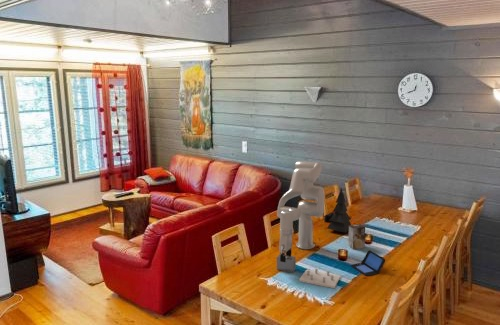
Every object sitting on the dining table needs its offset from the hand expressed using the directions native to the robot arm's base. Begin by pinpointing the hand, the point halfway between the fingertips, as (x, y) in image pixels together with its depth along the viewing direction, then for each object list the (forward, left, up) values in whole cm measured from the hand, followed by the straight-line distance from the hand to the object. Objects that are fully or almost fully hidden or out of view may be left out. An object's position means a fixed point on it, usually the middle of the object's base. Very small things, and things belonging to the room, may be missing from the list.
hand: (285, 258), depth 235 cm
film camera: (-97, +4, -7) cm, 98 cm away
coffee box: (-51, +32, -7) cm, 60 cm away
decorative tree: (-76, +15, -7) cm, 78 cm away
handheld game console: (-20, +44, -8) cm, 49 cm away
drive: (-1, 0, -7) cm, 7 cm away
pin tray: (+3, +22, -7) cm, 23 cm away
